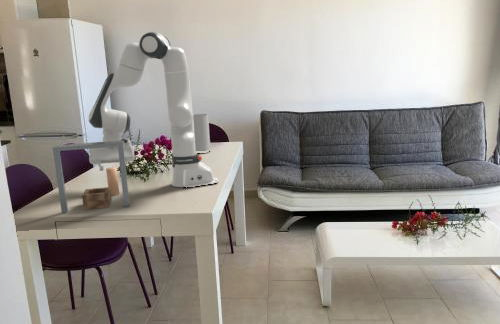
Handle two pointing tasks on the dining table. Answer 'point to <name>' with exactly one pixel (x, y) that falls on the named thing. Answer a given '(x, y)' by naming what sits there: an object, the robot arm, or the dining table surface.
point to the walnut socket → (97, 198)
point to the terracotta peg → (113, 180)
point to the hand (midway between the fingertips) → (112, 169)
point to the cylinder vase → (201, 132)
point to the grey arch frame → (89, 146)
